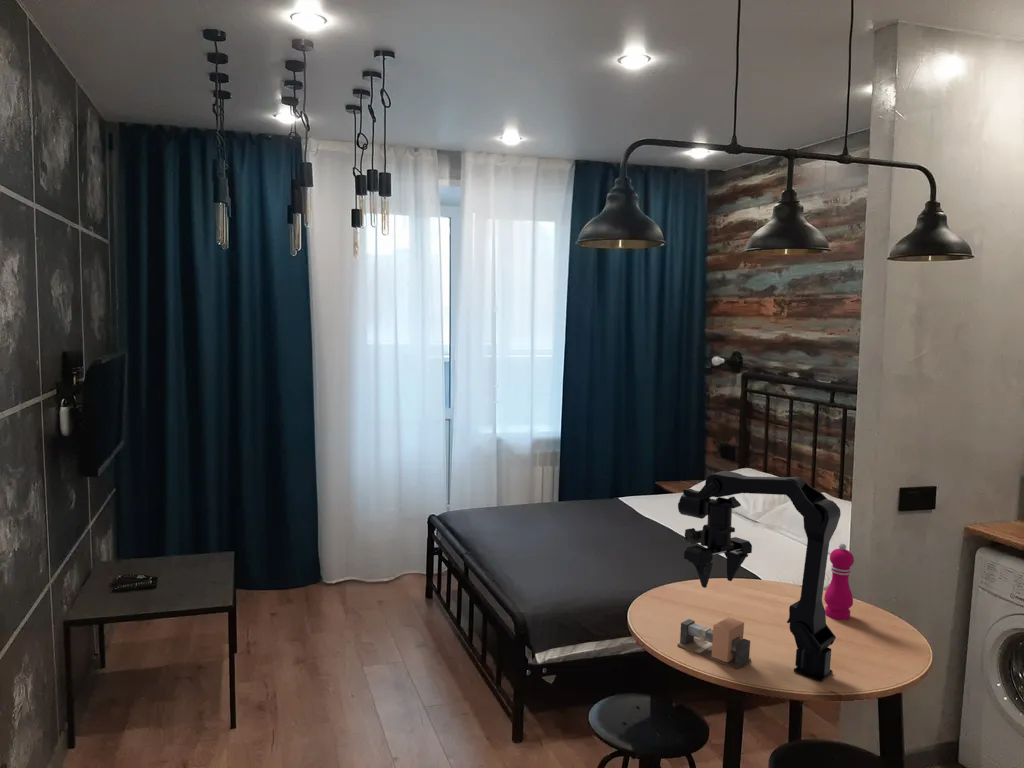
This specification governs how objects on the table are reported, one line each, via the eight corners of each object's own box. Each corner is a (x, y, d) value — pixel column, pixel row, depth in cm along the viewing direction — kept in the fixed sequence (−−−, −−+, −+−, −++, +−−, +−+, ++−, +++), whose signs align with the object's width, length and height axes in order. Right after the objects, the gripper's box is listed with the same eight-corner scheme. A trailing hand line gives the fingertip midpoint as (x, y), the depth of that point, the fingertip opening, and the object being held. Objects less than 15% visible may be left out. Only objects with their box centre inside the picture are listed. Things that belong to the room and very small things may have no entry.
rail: (751, 661, 181) (753, 639, 180) (738, 669, 176) (739, 647, 176) (690, 638, 192) (692, 617, 192) (676, 645, 188) (677, 624, 187)
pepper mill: (838, 608, 214) (843, 538, 212) (857, 618, 207) (863, 546, 205) (817, 611, 212) (822, 540, 210) (836, 622, 205) (842, 548, 203)
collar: (742, 653, 183) (744, 622, 182) (727, 662, 178) (729, 630, 177) (726, 647, 185) (728, 617, 185) (711, 656, 180) (713, 625, 180)
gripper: (720, 510, 202) (717, 568, 204) (668, 520, 192) (666, 581, 193) (754, 520, 193) (751, 580, 194) (702, 530, 183) (700, 594, 184)
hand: (716, 583), depth 192 cm, fingers open, 9 cm apart
